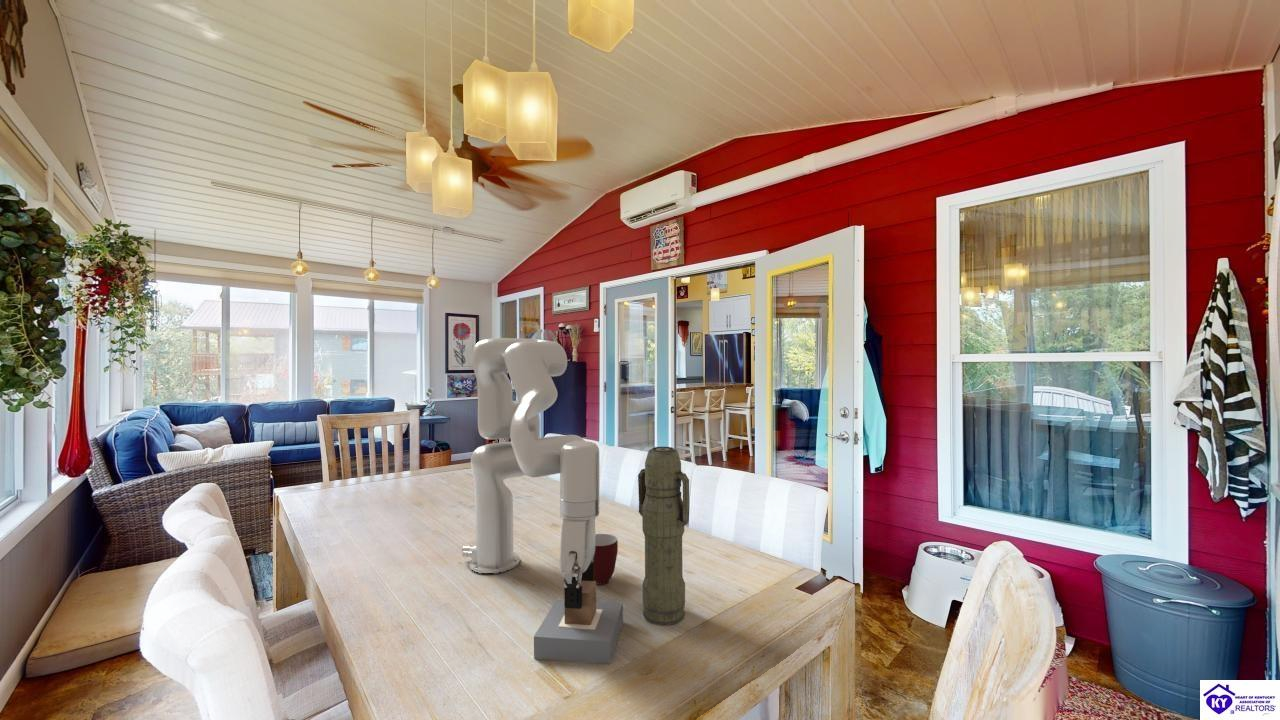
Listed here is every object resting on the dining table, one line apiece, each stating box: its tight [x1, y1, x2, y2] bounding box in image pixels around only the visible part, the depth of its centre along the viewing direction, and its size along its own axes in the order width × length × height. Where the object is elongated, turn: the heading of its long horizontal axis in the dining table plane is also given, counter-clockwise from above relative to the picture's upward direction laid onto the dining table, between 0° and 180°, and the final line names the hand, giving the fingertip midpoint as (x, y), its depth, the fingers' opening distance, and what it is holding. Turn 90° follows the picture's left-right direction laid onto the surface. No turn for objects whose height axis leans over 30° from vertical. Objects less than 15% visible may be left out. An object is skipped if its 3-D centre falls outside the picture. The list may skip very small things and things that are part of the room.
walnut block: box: [564, 581, 597, 625], centre depth 96 cm, size 5×5×6 cm
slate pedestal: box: [533, 598, 624, 665], centre depth 96 cm, size 14×14×4 cm
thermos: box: [637, 446, 690, 626], centre depth 105 cm, size 9×12×35 cm
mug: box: [593, 533, 619, 585], centre depth 122 cm, size 10×8×10 cm
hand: (579, 594), depth 96 cm, fingers open, 9 cm apart
